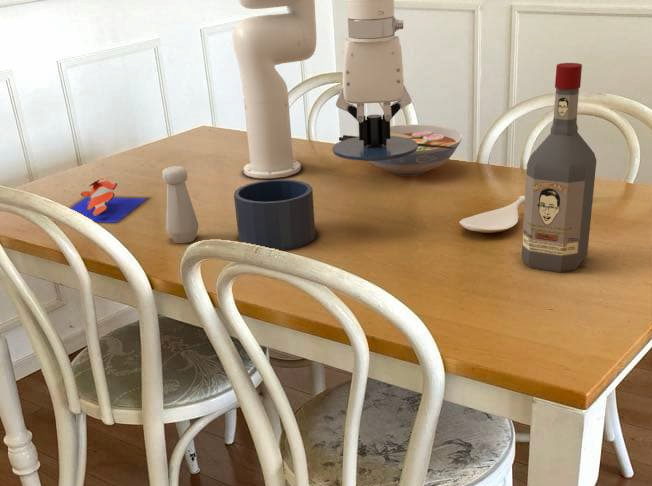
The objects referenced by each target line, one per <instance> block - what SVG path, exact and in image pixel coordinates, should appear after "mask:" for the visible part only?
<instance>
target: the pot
mask: <svg viewBox="0 0 652 486" xmlns="http://www.w3.org/2000/svg"><path fill="white" fill-rule="evenodd" d="M233 200H234V209H235V217H236V226H237V235H238V241H239V243H240V242H246V243H251V244H256V245H260V246H265V247H269V248H275V249H279V251H287V250H292V249H293V250H294V249H296V248H300V247H303V246H305V245H307V244H310V243H311V242H312V241H313V240H315V237H316V223H315V209H314V208H315V207H314V205H315V204H314V193H313V187H312V186H311V185H310V184H309V183H307V182H304V181H301V180H295V179H265V180H259V181H255V182H251V183H246V184H245V185H242V186H240V187H238V188H237V189H236V190H234V192H233Z"/></svg>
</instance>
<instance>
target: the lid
mask: <svg viewBox="0 0 652 486" xmlns="http://www.w3.org/2000/svg"><path fill="white" fill-rule="evenodd" d="M382 118H383V115H382V114H369V115H366V120H367V138H368V145H367V146H364V143H363V140H359V137H358V136H357V137H356V138H351V139H347V140H343V141H338V142H336V143H335V144H333V145H332V153H333V155H335V156H336V157H339V158H341V159H346V160H352V161H362V162H369V161H381V160H389V159H395V158H400V157H404V156H407V155H410V154H412V153H414V152H415V151H416V150H417V149H418V144H417V142H416V141H414V140H412V139H409V138H405V137H399V136H390V139H387V145H382Z"/></svg>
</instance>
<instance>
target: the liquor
mask: <svg viewBox="0 0 652 486" xmlns="http://www.w3.org/2000/svg"><path fill="white" fill-rule="evenodd" d="M582 69H583V64H582V63H580V62H579V63H578V62H561V63H557V64H556V68H555V82H554V88H555V95H554V96H555V97H554V107H553V119H552V125H551V127H550V133H549V134H548V135H547V137H545V139H544V140H542V142H541V144H539V146H538V147H537V148H536V149H535V150H534V151H533V152H532V153H531V154H530V156H529V158H528V160H527V163H526V173H525V191H524V196H525V203H524V208H523V226H522V239H521V240H522V242H521V244H522V245H521V259H522V261H523V263H525V264H526V265H527V266H528V267H529V268H531V269H536V270H543V271H549V272H555V273H565V272H572V271H575V270H576V269H577V268H578V267H579V266H580V265H581V264H582V263H583V261H584V260H585V259H586V257H587V256H588V253H589V241H590V233H591V232H590V231H591V230H590V229H591V222H592V221H591V220H592V211H593V201H594V192H595V191H594V190H595V180H596V171H597V170H596V169H597V158H596V154H595V152H594V151H593V149H592V148H591V147H590V146H589V145H588V143H587V142H586V141H585V140H584V137H582V136H581V134H580V133H579V127H578V110H579V109H578V108H579V94H580V89H581V85H582V83H581V82H582Z"/></svg>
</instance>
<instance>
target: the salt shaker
mask: <svg viewBox="0 0 652 486" xmlns="http://www.w3.org/2000/svg"><path fill="white" fill-rule="evenodd" d="M161 178H162V182H163V183H165V184H166V215H165V216H166V217H165V230H166V233H167V234H168V235H169V237H170V238H171V240H172V241H173V243H175V244H188V243H192V242H194V240H195V239H196V237H197V235H198V230H199V222H198V219H197V215H196V213H195V209H194V205H193V203H192V200H191V196H190V193H189V190H188V187H187V184H186V182H187V180H188V172H187V169H186V168H185V167H183V166H179V165H174V166H168V167H165V168H164V169H163V170H162V172H161Z"/></svg>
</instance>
